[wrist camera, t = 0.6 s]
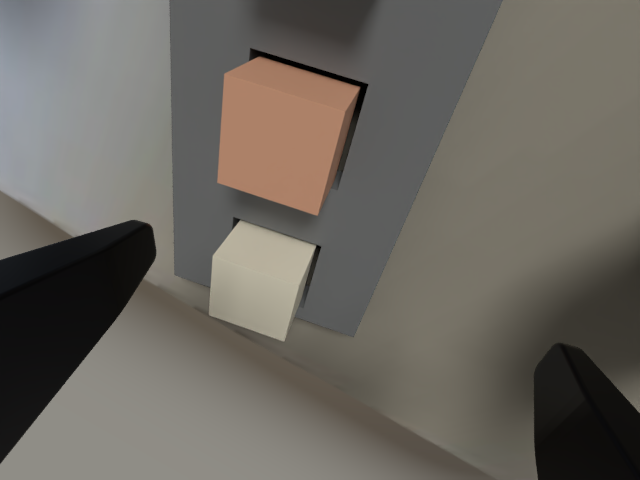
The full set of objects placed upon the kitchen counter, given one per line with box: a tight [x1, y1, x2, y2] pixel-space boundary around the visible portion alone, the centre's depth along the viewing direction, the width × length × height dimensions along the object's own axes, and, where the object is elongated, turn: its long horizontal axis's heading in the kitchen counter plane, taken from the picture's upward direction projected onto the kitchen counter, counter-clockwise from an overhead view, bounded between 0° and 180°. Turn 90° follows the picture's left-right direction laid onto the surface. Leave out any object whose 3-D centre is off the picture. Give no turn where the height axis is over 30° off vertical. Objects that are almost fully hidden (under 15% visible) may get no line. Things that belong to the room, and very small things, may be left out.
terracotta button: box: [217, 56, 361, 216], centre depth 16 cm, size 4×4×3 cm
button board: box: [170, 0, 503, 337], centre depth 18 cm, size 12×24×2 cm, turn 166°
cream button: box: [209, 220, 316, 341], centre depth 21 cm, size 4×4×3 cm
